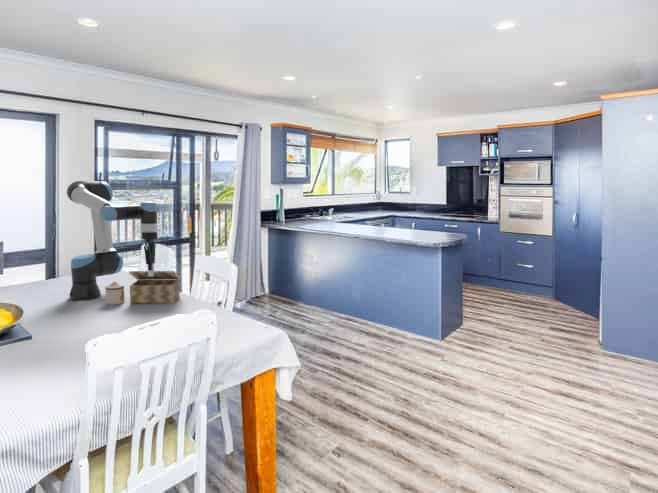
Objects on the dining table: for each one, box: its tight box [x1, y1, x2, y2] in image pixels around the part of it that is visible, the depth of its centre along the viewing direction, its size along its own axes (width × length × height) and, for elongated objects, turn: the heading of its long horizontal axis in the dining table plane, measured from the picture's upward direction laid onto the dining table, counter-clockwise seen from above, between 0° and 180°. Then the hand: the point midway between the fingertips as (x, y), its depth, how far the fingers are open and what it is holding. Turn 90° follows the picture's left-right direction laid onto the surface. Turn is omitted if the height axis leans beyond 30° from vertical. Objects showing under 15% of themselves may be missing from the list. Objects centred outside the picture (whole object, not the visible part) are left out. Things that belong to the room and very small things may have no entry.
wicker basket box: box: [129, 279, 180, 305], centre depth 233 cm, size 22×14×10 cm, turn 97°
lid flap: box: [128, 270, 181, 281], centre depth 233 cm, size 23×14×1 cm, turn 97°
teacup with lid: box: [104, 280, 125, 306], centre depth 228 cm, size 12×9×12 cm
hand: (151, 275), depth 225 cm, fingers closed
